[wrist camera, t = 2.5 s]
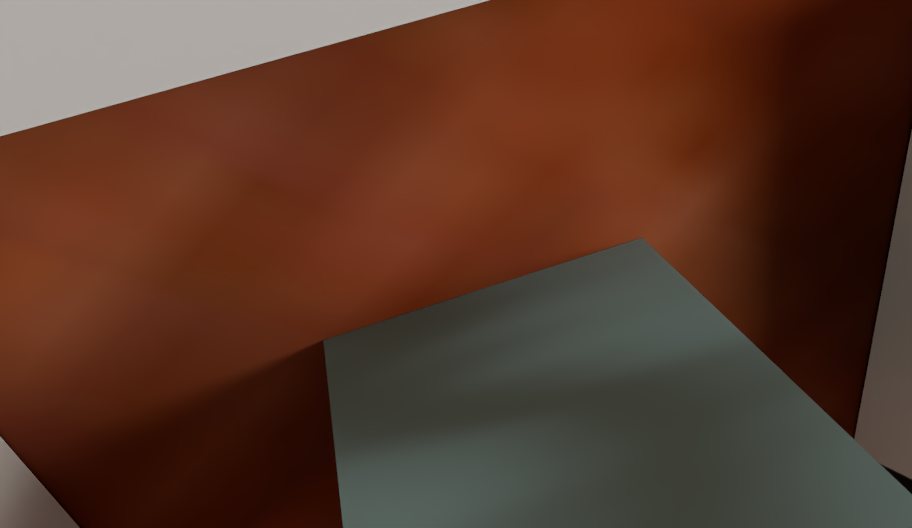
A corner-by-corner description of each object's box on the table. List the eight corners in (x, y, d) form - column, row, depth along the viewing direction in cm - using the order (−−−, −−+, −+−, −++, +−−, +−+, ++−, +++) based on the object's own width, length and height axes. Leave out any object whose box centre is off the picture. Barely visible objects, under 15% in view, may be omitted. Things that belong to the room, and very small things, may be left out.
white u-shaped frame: (225, 763, 14) (214, 952, 12) (-241, 292, 7) (-522, 513, 5) (873, 517, 16) (989, 639, 13) (1011, -71, 9) (1314, -54, 6)
